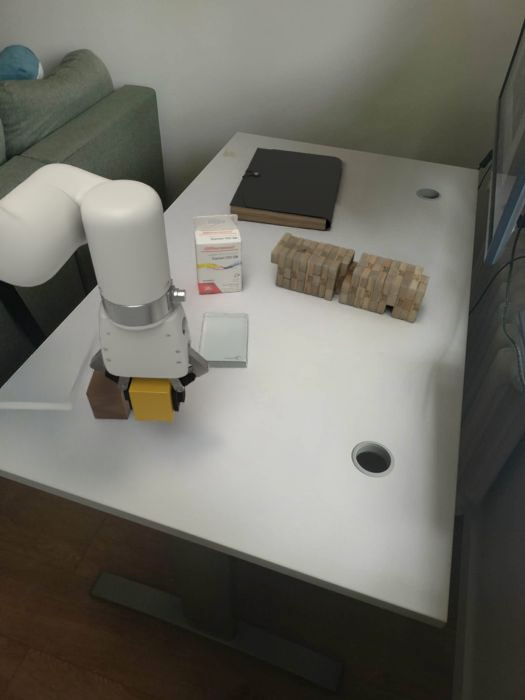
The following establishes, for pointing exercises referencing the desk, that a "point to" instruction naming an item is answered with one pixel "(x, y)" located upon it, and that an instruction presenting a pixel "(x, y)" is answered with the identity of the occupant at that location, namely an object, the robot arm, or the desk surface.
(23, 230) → the robot arm
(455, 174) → the desk surface
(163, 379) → the yellow block
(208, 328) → the hard drive
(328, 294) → the block tower
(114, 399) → the walnut block
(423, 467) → the desk surface
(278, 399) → the desk surface
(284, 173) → the black book
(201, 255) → the ink cartridge box
